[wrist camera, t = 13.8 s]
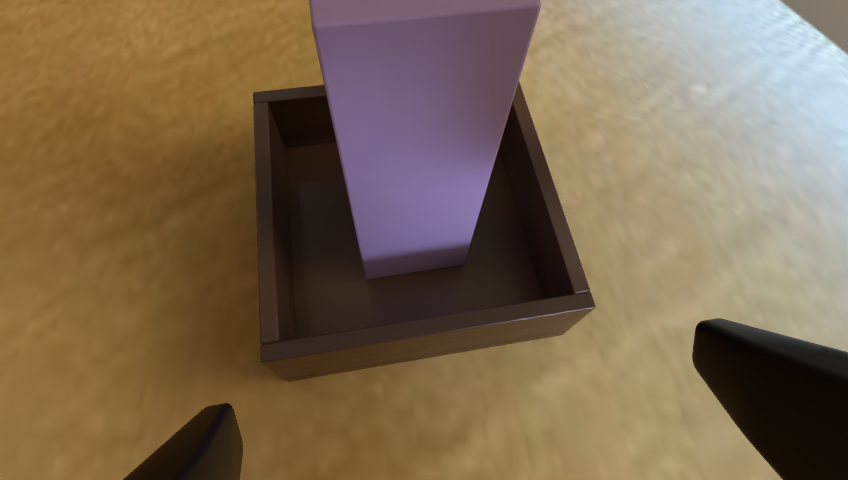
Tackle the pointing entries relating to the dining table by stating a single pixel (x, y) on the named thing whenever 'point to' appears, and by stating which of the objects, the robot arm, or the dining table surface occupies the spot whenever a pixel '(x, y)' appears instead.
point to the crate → (405, 293)
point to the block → (419, 117)
